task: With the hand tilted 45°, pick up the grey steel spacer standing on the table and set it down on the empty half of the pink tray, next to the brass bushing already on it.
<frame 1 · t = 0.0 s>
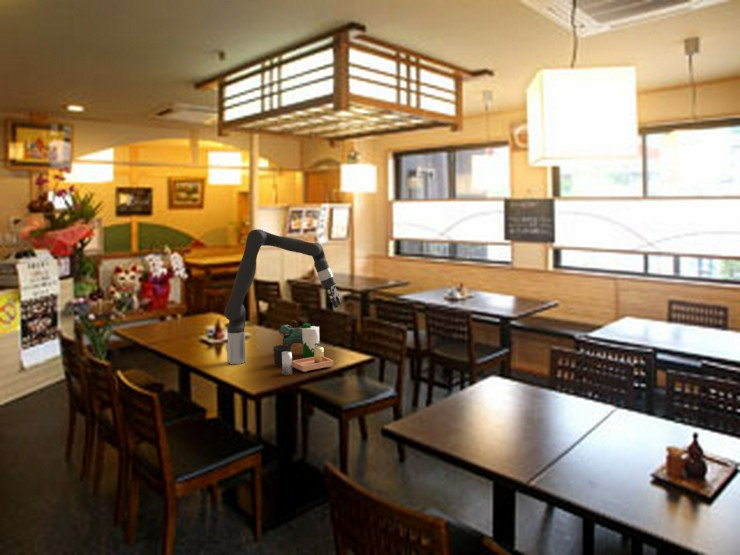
hand: (337, 306, 288), 31 cm above the table, tool tilted 20°, fingers open, 8 cm apart
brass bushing: (319, 362, 286), point 2 cm above the table, touching pink tray
ceramic cat: (297, 354, 314), on the table
steel spacer: (287, 373, 275), on the table
milk carton: (311, 359, 302), on the table
pen holder: (282, 365, 291), on the table
pink tray: (312, 367, 284), on the table
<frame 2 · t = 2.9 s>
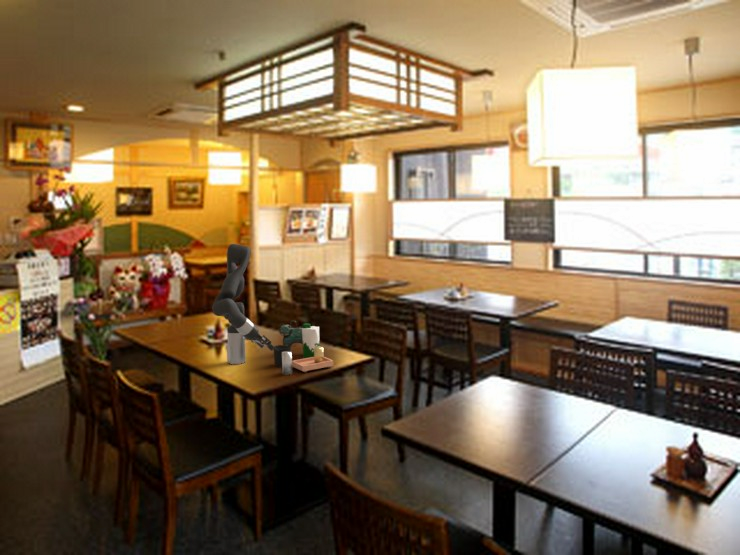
hand: (267, 347, 266), 15 cm above the table, tool tilted 45°, fingers open, 8 cm apart
nothing on the table moved.
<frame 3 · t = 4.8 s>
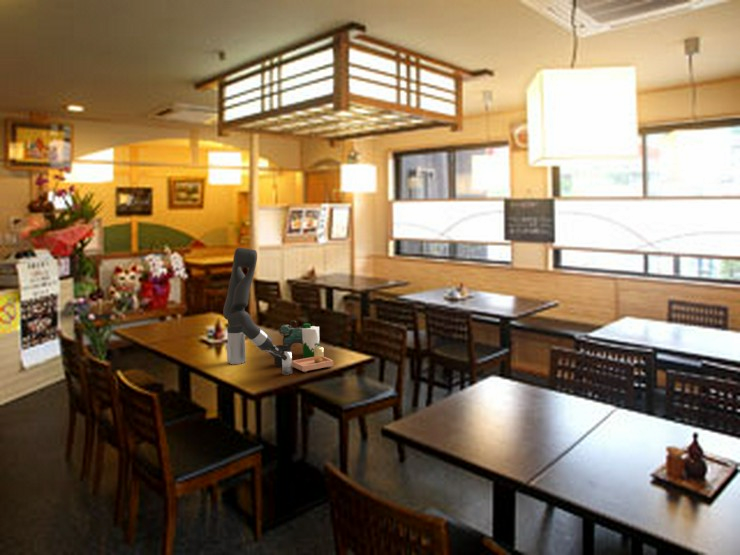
hand: (281, 357, 272), 9 cm above the table, tool tilted 45°, fingers open, 8 cm apart
nothing on the table moved.
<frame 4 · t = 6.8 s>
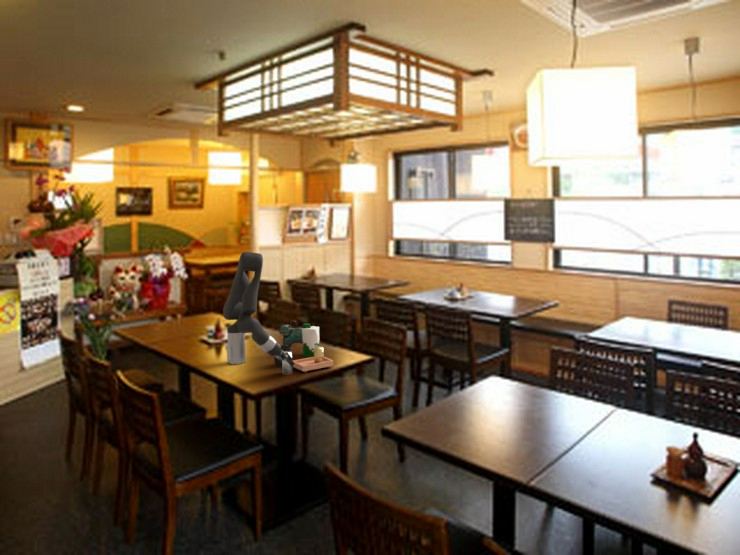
hand: (290, 363, 276), 5 cm above the table, tool tilted 45°, fingers closed on steel spacer, 5 cm apart
steel spacer: (287, 373, 275), on the table, touching gripper
everything else where it was.
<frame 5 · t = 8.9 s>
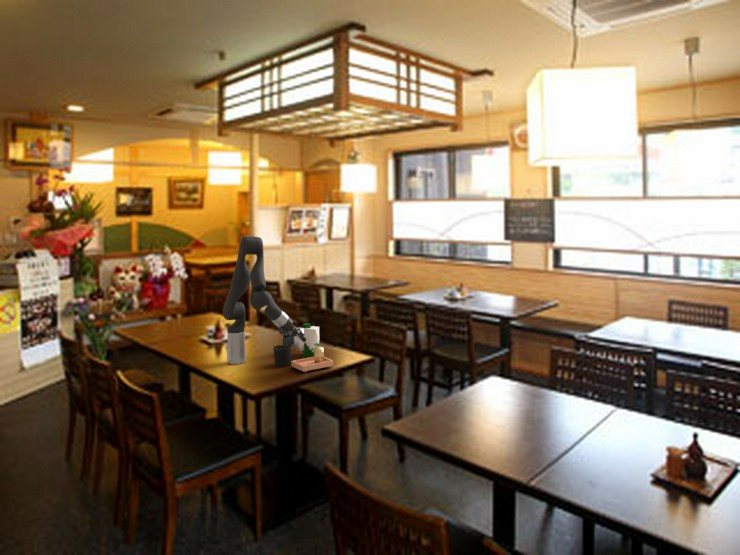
hand: (301, 340, 279), 16 cm above the table, tool tilted 45°, fingers closed on steel spacer, 5 cm apart
steel spacer: (299, 349, 278), point 11 cm above the table, touching gripper
everything else where it was.
when the fingers open (8 cm above the table, at t = 11.2 s): steel spacer stays where it is, resting on pink tray.
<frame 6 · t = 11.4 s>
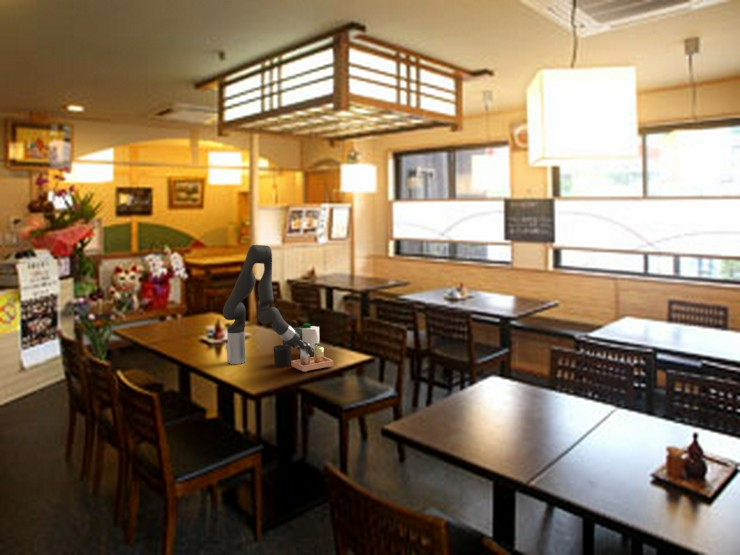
hand: (307, 352, 282), 8 cm above the table, tool tilted 45°, fingers open, 7 cm apart
steel spacer: (305, 364, 282), point 2 cm above the table, touching pink tray
everything else where it was.
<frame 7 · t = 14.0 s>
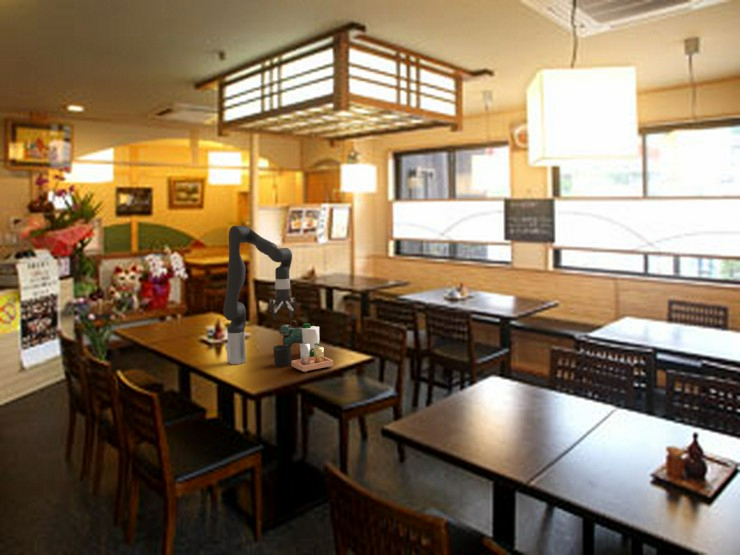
hand: (283, 318, 276), 28 cm above the table, tool pointing down, fingers open, 8 cm apart
nothing on the table moved.
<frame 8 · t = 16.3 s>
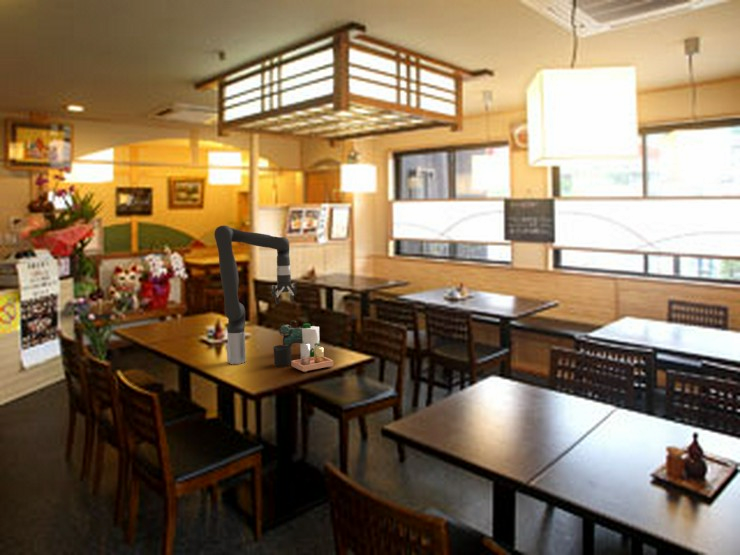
hand: (284, 303, 297), 32 cm above the table, tool pointing down, fingers open, 8 cm apart
nothing on the table moved.
at the end: steel spacer inside the target area on the pink tray (0.7 cm from its centre), point 2.5 cm above the pink tray's base; steel spacer tilted 2°; the gripper is holding nothing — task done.
